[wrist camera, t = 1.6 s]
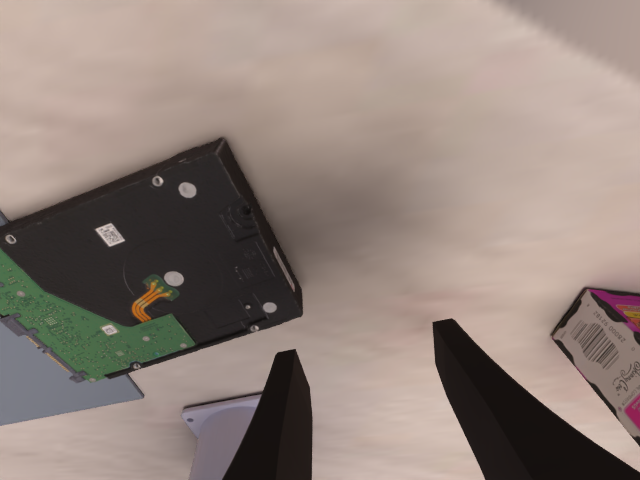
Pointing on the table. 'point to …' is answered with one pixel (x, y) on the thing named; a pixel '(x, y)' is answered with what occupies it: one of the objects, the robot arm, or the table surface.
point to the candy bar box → (607, 350)
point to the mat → (48, 382)
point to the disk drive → (146, 268)
